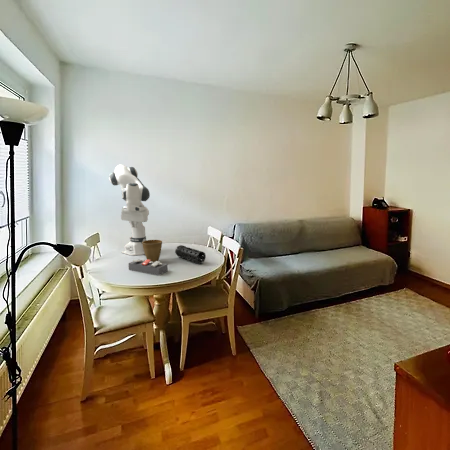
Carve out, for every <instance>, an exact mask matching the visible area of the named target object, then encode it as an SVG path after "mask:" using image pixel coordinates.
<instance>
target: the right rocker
mask: <svg viewBox="0 0 450 450" xmlns="http://www.w3.org/2000/svg"><path fill="white" fill-rule="evenodd" d="M160 263H161V261H159V260H158V261H156V262H154V263H153V264H152V265H151V266H153V267H156V266H158V264H160Z"/></svg>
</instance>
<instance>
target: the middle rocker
mask: <svg viewBox="0 0 450 450" xmlns="http://www.w3.org/2000/svg"><path fill="white" fill-rule="evenodd" d="M150 261H151V260H148V259H147V258H146V259H145V261H144V262H143V263H142V265H147V264H149V262H150Z"/></svg>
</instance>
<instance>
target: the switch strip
mask: <svg viewBox="0 0 450 450" xmlns="http://www.w3.org/2000/svg"><path fill="white" fill-rule="evenodd" d="M137 260H140V259H137ZM141 260H142V262H140V263H138V262H134V261H133V260H132V261H130V262H128V271H132V272H133V271H134V272H138V273H143V274H149V275H154V276H155V275H156V276H161V275H162V274H165V273H166V272H168V269H169V268H168V263H163V262H160V264H158V266H156V267H153V266H151V265H152V264H153V263H154V262H153V261H150V262H149V264H147V265H142V263H143V262H144V261H145V260H146V259H145V260H144V259H141Z"/></svg>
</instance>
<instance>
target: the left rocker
mask: <svg viewBox="0 0 450 450" xmlns="http://www.w3.org/2000/svg"><path fill="white" fill-rule="evenodd" d="M142 260H143V259H139V260H138V259H133V260H132V262H133V261H134V262H138V263H140V262H142Z"/></svg>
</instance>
